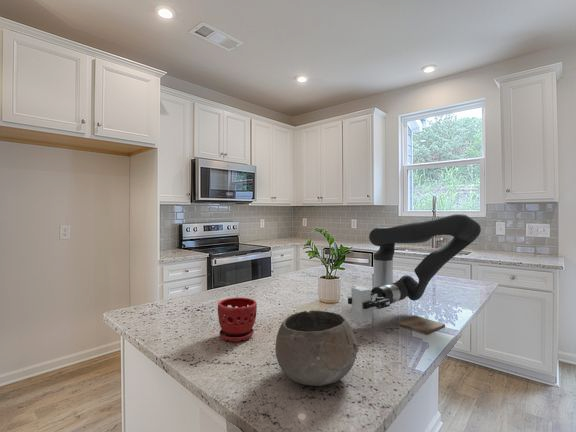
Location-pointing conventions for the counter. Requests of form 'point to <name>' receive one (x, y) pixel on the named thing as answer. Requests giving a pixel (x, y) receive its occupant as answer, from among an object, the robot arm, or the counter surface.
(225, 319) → the plant pot
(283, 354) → the clay pot
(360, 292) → the skincare box
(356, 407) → the counter surface
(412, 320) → the walnut board
